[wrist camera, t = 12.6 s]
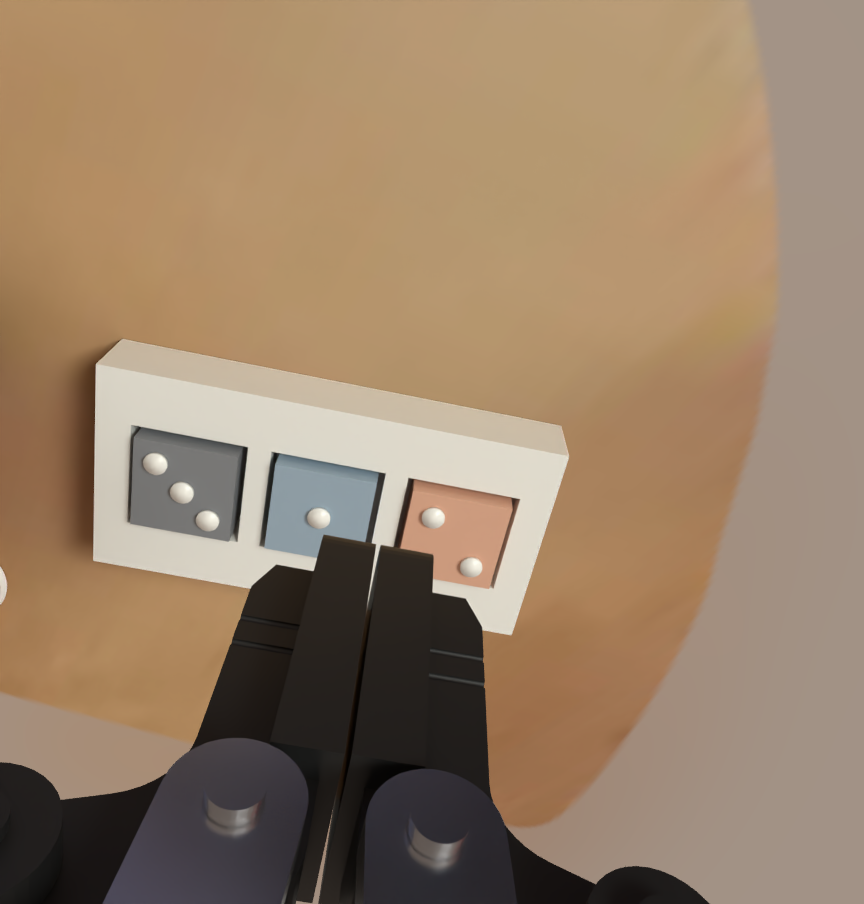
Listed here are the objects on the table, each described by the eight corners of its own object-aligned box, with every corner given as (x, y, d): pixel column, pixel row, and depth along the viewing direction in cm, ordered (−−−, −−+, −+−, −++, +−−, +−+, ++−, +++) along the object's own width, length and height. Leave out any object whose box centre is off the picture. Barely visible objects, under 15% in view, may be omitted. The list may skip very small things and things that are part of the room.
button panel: (116, 525, 41) (93, 560, 38) (122, 338, 36) (96, 363, 33) (507, 596, 42) (511, 635, 39) (561, 425, 38) (569, 456, 35)
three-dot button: (148, 495, 39) (128, 526, 36) (152, 412, 37) (131, 439, 34) (241, 512, 39) (227, 544, 37) (250, 431, 37) (236, 459, 35)
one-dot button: (274, 518, 39) (263, 550, 37) (286, 438, 37) (274, 466, 35) (365, 535, 39) (360, 568, 37) (381, 456, 37) (376, 485, 35)
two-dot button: (398, 541, 40) (394, 574, 37) (415, 463, 37) (413, 493, 35) (487, 557, 40) (489, 591, 37) (509, 480, 38) (513, 512, 35)
